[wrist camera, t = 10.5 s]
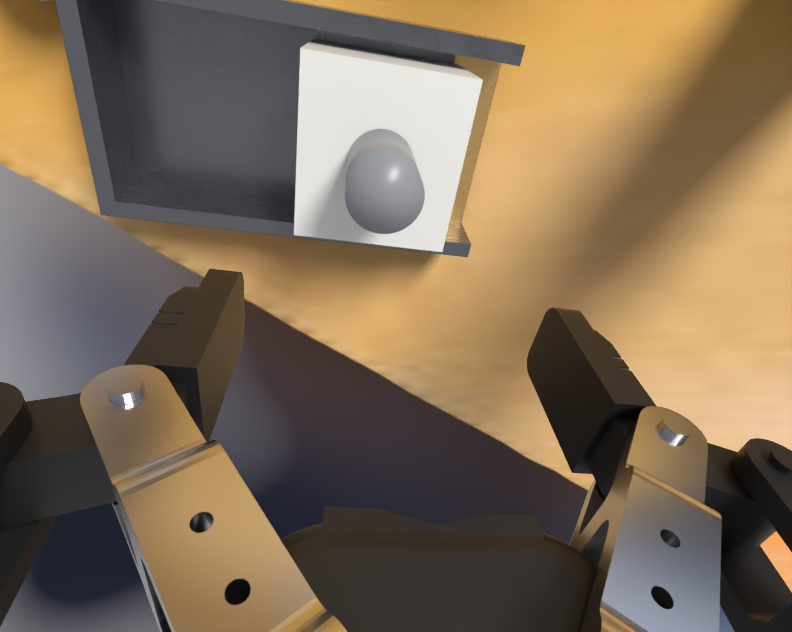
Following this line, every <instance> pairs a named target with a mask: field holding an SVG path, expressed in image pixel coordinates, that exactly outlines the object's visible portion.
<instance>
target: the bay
mask: <svg viewBox="0 0 792 632" xmlns="http://www.w3.org/2000/svg"><path fill="white" fill-rule="evenodd" d="M55 2H56V7H57V12H58V16H59V21H60V25H61V30H62V35H63V39H64V44H65V49H66V53H67V58H68V63H69V67H70V72H71V77H72V81H73V86H74V91H75V95H76V100H77V105H78V109H79V114H80V119H81V123H82V128H83V133H84V137H85V142H86V147H87V151H88V156H89V161H90V165H91V170H92V175H93V179H94V184H95V189H96V193H97V198H98V203H99V207H100V212H101V215H107V216H115V217H124V218H133V219H141V220H150V221H159V222H167V223H176V224H185V225H193V226H202V227H211V228H219V229H228V230H237V231H245V232H254V233H262V234H271V235H280V236H288V237H297V238H306V239H314V240H323V241H332V242H340V243H349V244H358V245H366V246H375V247H384V248H392V249H401V250H410V251H418V252H427V253H436V254H444V255H453V256H461V257H468V254H469V250H470V247H471V243H470V241H469V239H468V236H467V234H466V232H465V230H464V228H463V226H462V223H461V221H462V217H463V213H464V209H465V205H466V201H467V197H468V193H469V189H470V186H471V182H472V178H473V174H474V170H475V166H476V162H477V158H478V154H479V150H480V146H481V142H482V138H483V134H484V130H485V126H486V122H487V118H488V114H489V110H490V106H491V102H492V98H493V94H494V90H495V86H496V82H497V78H498V74H499V70H500V66H501V63H506V64H511V65H517V66H520V63H521V59H522V56H523V52H524V48H525V45H521V44H517V43H513V42H509V41H505V40H501V39H495V38H490V37H485V36H479V35H474V34H469V33H463V32H458V31H453V30H447V29H442V28H437V27H431V26H426V25H421V24H415V23H410V22H405V21H399V20H394V19H389V18H383V17H378V16H373V15H367V14H362V13H357V12H351V11H346V10H341V9H335V8H330V7H325V6H319V5H314V4H309V3H303V2H298V1H293V0H55ZM312 39H316V40H322V41H327V42H333V43H339V44H344V45H350V46H356V47H361V48H367V49H373V50H378V51H384V52H390V53H395V54H401V55H407V56H412V57H418V58H424V59H429V60H435V61H440V62H446V63H452V64H457V65H460V66H461V67H463V68H465V69H466V70H468V71H470V72H471V73H473V74H474V75H476V76H478V77H479V78H481V79H483V82H482V87H481V91H480V95H479V99H478V104H477V108H476V112H475V116H474V121H473V125H472V129H471V133H470V137H469V142H468V146H467V150H466V154H465V159H464V163H463V167H462V171H461V176H460V180H459V184H458V188H457V192H456V197H455V201H454V205H453V209H452V214H451V218H450V222H449V226H448V231H447V235H446V239H445V243H444V247H443V252H436V251H427V250H419V249H410V248H402V247H393V246H384V245H376V244H367V243H359V242H350V241H341V240H333V239H324V238H316V237H307V236H298V235H294V215H295V186H296V157H297V128H298V99H299V70H300V48H301V47H302V46H304V45H305V44H307V43H308V42H310V41H311V40H312Z"/></svg>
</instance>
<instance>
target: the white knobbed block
mask: <svg viewBox="0 0 792 632" xmlns="http://www.w3.org/2000/svg"><path fill="white" fill-rule="evenodd" d="M482 82H483V79H481V78H479V77H478V76H476V75H474V74H473V73H471V72H470V71H468V70H466V69H465V68H463V67H461V66H460V65H457V64H452V63H446V62H440V61H435V60H429V59H424V58H418V57H412V56H407V55H401V54H395V53H390V52H384V51H378V50H373V49H367V48H361V47H356V46H350V45H344V44H339V43H333V42H327V41H322V40H316V39H312V40H311V41H310V42H308V43H307V44H305V45H304V46H302V47H301V48H300V70H299V99H298V128H297V157H296V186H295V215H294V235H298V236H307V237H316V238H324V239H333V240H341V241H350V242H359V243H367V244H376V245H384V246H393V247H402V248H410V249H419V250H427V251H436V252H443V247H444V243H445V239H446V235H447V231H448V226H449V222H450V218H451V214H452V209H453V205H454V201H455V197H456V192H457V188H458V184H459V180H460V176H461V171H462V167H463V163H464V159H465V154H466V150H467V146H468V142H469V137H470V133H471V129H472V125H473V121H474V116H475V112H476V108H477V104H478V99H479V95H480V91H481V87H482Z"/></svg>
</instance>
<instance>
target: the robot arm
mask: <svg viewBox="0 0 792 632" xmlns="http://www.w3.org/2000/svg"><path fill="white" fill-rule="evenodd" d="M244 318H245V315H244V280H243V274H242V273H241V272H234V271H225V270H216V269H209V270H208V272H207V274H206V275H205V277H204V279H203V281H202V283H201V284H200V286H199V288H194V287H183V288H182V289H180V290H179V291H177V292H176V293H174V294H172V295H171V296H169V297H168V298H167V299H166V301H165V303H164V304H163V306H162V307H161V309H160V310H159V314H157V315H156V317H155V318H154V320H153V321H152V325H150V326H149V327H148V329H147V330H146V332H145V333H144V335H143V336H142V338H141V339H140V341H139V342H138V344H137V346H136V347H135V349H134V350H133V352H132V353H131V355H130V356H129V358H128V359H127V361H126V363H125V364H124V366H120V367H116V368H113V369H110V370H107V371H105V372H103V373H101V374H99V375H98V376H96V377H94V378H93V379H92V380H91V381H89V382H88V384H87V385H86V386H85V387H84V389H83V390H82V392H81V393H79V394H74V395H69V396H63V397H55V398H48V399H41V400H35V401H28V402H25V400H24V398H23V395H22V393H21V392H20V390H19V389H18V388H16V387H15V386H13V385H10V384H7V383H3V382H0V626H1V624H2V622H3V620H4V618H5V617H6V614H7V613H8V611H9V609H10V606H11V605H12V603H13V601H14V599H15V597H16V595H17V593H18V591H19V589H20V587H21V586H22V583H23V582H24V580H25V578H26V575H27V574H28V572H29V570H30V568H31V566H32V564H33V562H34V560H35V558H36V557H37V555H38V553H39V551H40V549H41V547H42V545H43V543H44V541H45V539H46V537H47V535H48V533H49V531H50V529H51V527H52V526H53V523H54V522H55V520H56V518H57V516H58V515H60V514H65V513H69V512H73V511H77V510H82V509H86V508H90V507H94V506H99V505H103V504H107V503H112V504H113V507H114V509H115V512H116V514H117V517H118V520H119V522H120V525H121V527H122V530H123V533H124V535H125V538H126V540H127V543H128V545H129V548H130V551H131V553H132V556H133V558H134V561H135V564H136V566H137V569H138V571H139V574H140V577H141V579H142V582H143V585H144V587H145V591H146V593H147V596H148V599H149V602H150V605H151V607H152V610H153V613H154V616H155V618H156V621H157V624H158V626H159V629H160V632H719V613H720V605H721V607H722V609H723V611H724V613H725V615H726V616H727V618H728V620H729V622H730V624H731V626H732V627H733V629H734V631H735V632H792V592H791V591H790V590H789V588H788V587H787V585H786V584H785V582H784V581H783V579H782V578H781V576H780V575H779V573H778V572H777V570H776V569H775V567H774V566H773V564H772V563H771V561H770V560H769V558H768V557H767V555H766V554H765V552H764V551H763V549H762V548H761V546H760V544H761V543H763V542H764V541H765V540H766V539H767V538H768V537H770V536H771V535H772V534H773V533H774V532H775V531H777V532H778V534H779V535H780V536H781V538H782V539H783V541H784V542H785V543H786V545H787V546H788V547H789V549H790V550H791V552H792V451H791V450H789V449H787V448H786V447H784V446H782V445H779V444H777V443H775V442H772V441H769V440H765V439H757V438H756V439H751V440H749V441H748V442H747V443H746V444H745V445H744V446H743V447H742V448H741V449H740V451H739V452H735V451H732V450H729V449H725V448H722V447H719V446H716V445H713V444H710V443H707V440H706V438H705V436H704V435H703V433H702V432H701V431H700V430H699V429H698V428H697V427H696V426H695V425H694V424H693V423H692V422H691V421H689V420H688V419H687V418H685V417H683V416H682V415H680V414H678V413H676V412H674V411H672V410H669V409H666V408H662V407H657V406H656V405H655V403H654V402H653V401H652V399H651V398H650V397H649V395H648V394H647V392H646V391H645V390H644V388H643V387H642V385H641V384H640V383H639V381H638V380H637V378H636V377H635V376H634V374H633V373H632V372H631V371H629V367H628V366H627V365H626V363H625V362H624V360H622V359H621V356H620V355H619V353H618V352H617V351H616V349H615V348H614V347H613V345H612V344H611V343H610V342H609V341H608V340H606V339H605V338H604V337H603V336H602V335H600V334H599V333H598V332H597V331H594V330H593V329H592V327H591V326H590V324H589V323H588V321H587V320H586V319H585V317H584V316H583V314H582V313H581V312H580V311H576V310H567V309H558V308H550V309H549V310H548V311H547V312H546V314H545V316H544V318H543V320H542V323H541V325H540V327H539V330H538V332H537V334H536V337H535V339H534V341H533V344H532V346H531V348H530V351H529V354H528V358H527V370H528V374H529V376H530V379H531V381H532V383H533V385H534V388H535V390H536V392H537V394H538V397H539V399H540V401H541V403H542V406H543V408H544V410H545V413H546V415H547V417H548V419H549V422H550V424H551V426H552V428H553V431H554V433H555V435H556V437H557V440H558V442H559V444H560V447H561V449H562V451H563V453H564V456H565V458H566V460H567V462H568V465H569V467H570V469H571V471H572V473H586V474H593V476H594V478H595V480H594V482H593V483H592V485H591V486H590V488H589V491H588V494H587V496H586V499H585V502H584V505H583V508H582V511H581V514H580V517H579V520H578V522H577V526H576V528H575V531H574V534H573V537H572V540H571V543H570V545H568V544H566V543H564V542H562V541H560V540H558V539H556V538H554V537H551V536H549V535H547V534H543V532H542V530H541V526H540V524H539V520H538V518H537V515H525V514H524V515H523V514H501V513H485V514H480V515H477V516H472V517H468V518H463V519H459V520H455V521H451V522H446V523H442V524H432V523H428V522H424V521H421V520H417V519H414V518H410V517H407V516H403V515H400V514H396V513H393V512H390V511H386V510H382V509H378V508H377V509H376V508H354V507H331V506H324V511H323V519H322V524H318V525H314V526H310V527H307V528H304V529H301V530H299V531H296V532H294V533H292V534H290V535H288V536H286V537H284V538H282V539H281V540H280V538H279V537H278V535H277V534H276V532H275V530H274V529H273V527H272V526H271V524H270V522H269V521H268V519H267V518H266V516H265V514H264V513H263V511H262V510H261V508H260V507H259V505H258V503H257V502H256V500H255V499H254V497H253V495H252V494H251V492H250V491H249V489H248V487H247V486H246V484H245V483H244V481H243V479H242V478H241V476H240V475H239V473H238V471H237V470H236V468H235V467H234V465H233V463H232V462H231V460H230V459H229V457H228V456H227V454H226V452H225V451H224V449H223V448H222V446H221V445H220V444H219V443H218V442H217V441H215V440H213V441H210V442H209V440H210V437H211V434H212V431H213V428H214V425H215V422H216V419H217V417H218V414H219V411H220V408H221V405H222V402H223V399H224V396H225V393H226V390H227V388H228V385H229V382H230V379H231V376H232V373H233V370H234V368H235V365H236V362H237V359H238V356H239V353H240V350H241V347H242V343H243V337H244V328H245V319H244Z"/></svg>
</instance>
